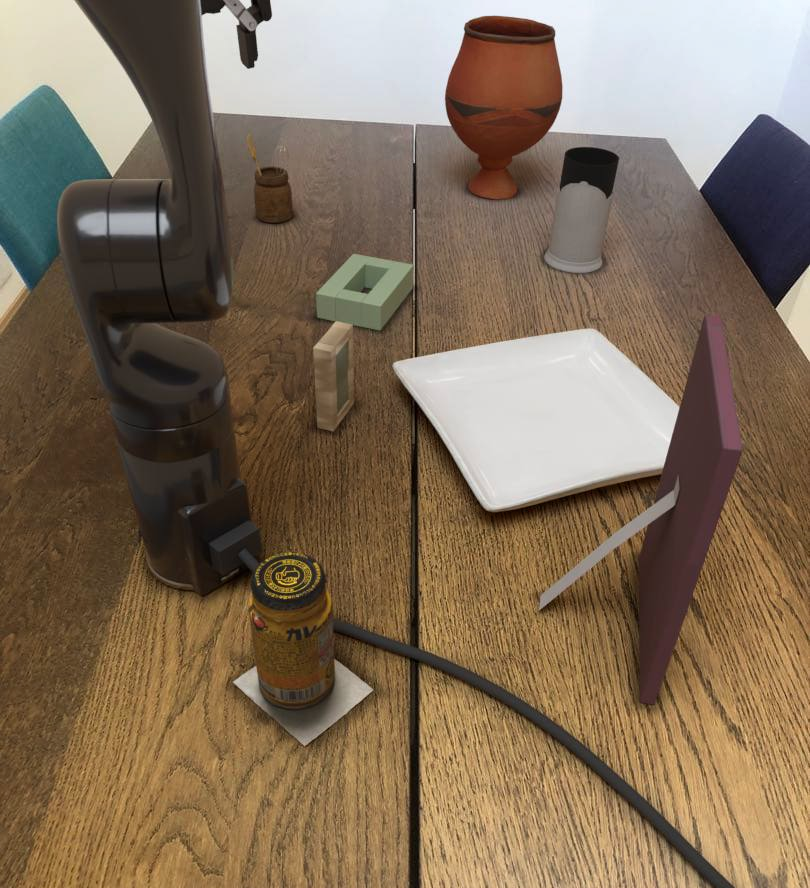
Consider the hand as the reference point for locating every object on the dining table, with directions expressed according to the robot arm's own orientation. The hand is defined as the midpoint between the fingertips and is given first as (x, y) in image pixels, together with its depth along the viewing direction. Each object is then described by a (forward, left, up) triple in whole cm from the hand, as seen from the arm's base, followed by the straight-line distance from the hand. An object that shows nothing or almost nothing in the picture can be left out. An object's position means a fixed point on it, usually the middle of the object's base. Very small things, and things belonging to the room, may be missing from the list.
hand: (212, 73), depth 88 cm
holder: (-9, -15, -29) cm, 33 cm away
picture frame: (-64, +10, -29) cm, 70 cm away
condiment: (-52, +33, -29) cm, 68 cm away
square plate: (-44, -9, -29) cm, 53 cm away
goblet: (+6, -60, -29) cm, 67 cm away
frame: (-26, +6, -29) cm, 39 cm away
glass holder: (-19, -50, -29) cm, 60 cm away
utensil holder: (+22, -24, -29) cm, 44 cm away
